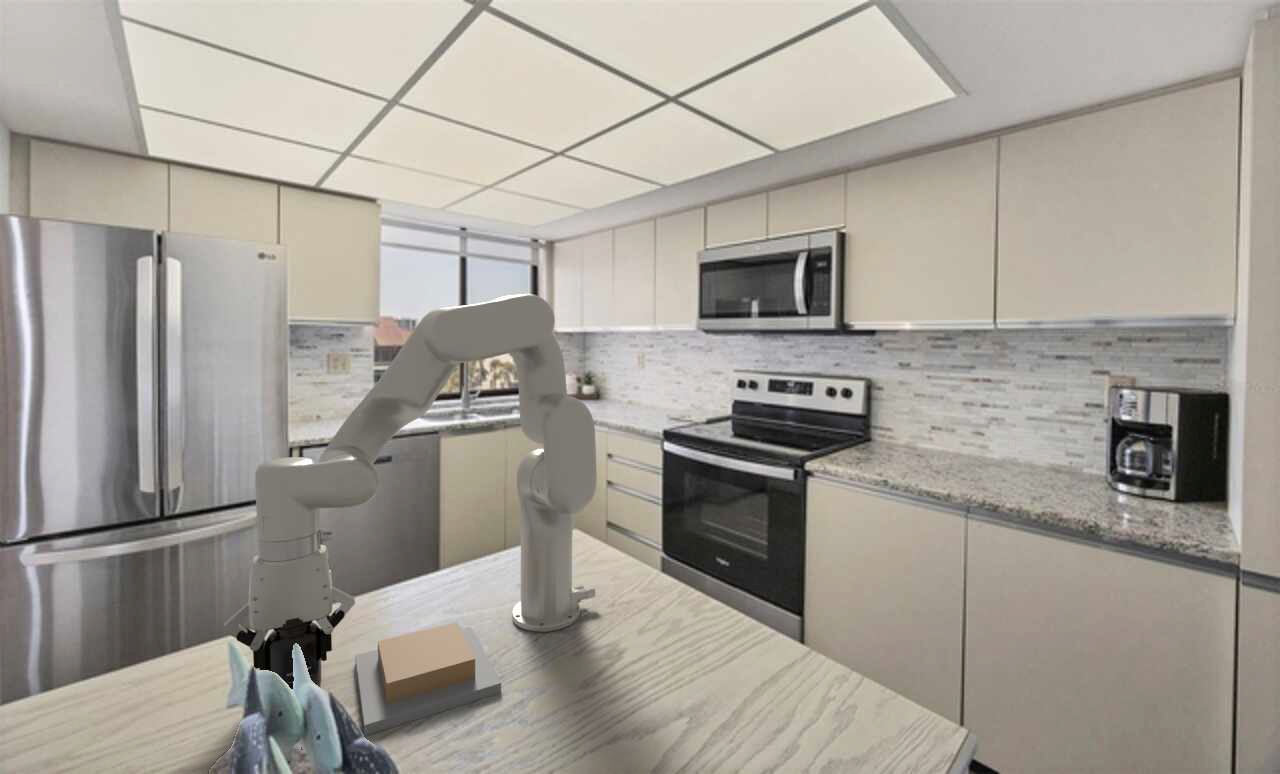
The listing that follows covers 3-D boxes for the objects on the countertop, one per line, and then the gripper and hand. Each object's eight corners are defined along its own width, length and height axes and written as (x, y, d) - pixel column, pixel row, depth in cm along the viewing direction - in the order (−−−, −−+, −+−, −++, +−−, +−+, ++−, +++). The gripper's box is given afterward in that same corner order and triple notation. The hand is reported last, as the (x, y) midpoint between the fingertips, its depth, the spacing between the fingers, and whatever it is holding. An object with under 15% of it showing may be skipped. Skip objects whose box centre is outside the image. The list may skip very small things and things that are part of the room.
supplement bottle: (296, 709, 76) (292, 627, 75) (255, 702, 77) (250, 621, 76) (333, 679, 82) (330, 603, 81) (294, 673, 84) (291, 598, 83)
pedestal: (470, 634, 96) (470, 609, 95) (501, 692, 80) (501, 663, 80) (355, 664, 86) (354, 636, 86) (364, 736, 71) (364, 703, 71)
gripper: (356, 527, 85) (359, 635, 87) (217, 547, 77) (223, 667, 78) (360, 543, 79) (363, 660, 81) (209, 566, 70) (215, 697, 72)
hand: (294, 662), depth 79 cm, fingers closed on supplement bottle, 6 cm apart
